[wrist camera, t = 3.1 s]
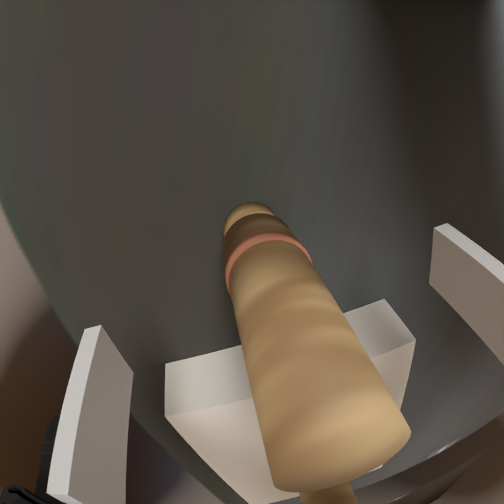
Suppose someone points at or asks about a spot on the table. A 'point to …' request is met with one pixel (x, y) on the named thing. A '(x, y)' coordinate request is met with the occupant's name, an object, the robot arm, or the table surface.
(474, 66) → the table surface
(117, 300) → the table surface
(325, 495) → the seated peg
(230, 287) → the honey-oak peg
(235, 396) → the off-white board
